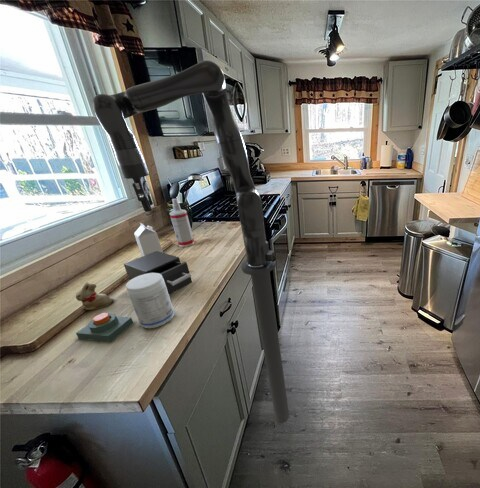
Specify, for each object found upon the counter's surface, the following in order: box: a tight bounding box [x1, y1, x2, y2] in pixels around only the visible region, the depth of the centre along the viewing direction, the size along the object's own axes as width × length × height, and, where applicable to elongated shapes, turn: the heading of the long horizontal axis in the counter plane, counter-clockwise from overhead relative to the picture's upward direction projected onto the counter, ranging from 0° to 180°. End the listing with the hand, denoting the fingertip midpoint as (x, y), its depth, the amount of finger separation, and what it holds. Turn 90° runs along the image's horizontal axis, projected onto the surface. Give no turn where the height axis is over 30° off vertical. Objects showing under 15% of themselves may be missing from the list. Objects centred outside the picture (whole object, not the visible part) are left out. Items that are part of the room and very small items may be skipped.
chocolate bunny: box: [75, 281, 114, 311], centre depth 89 cm, size 6×8×10 cm
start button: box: [92, 312, 110, 325], centre depth 77 cm, size 4×4×2 cm
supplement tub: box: [125, 273, 175, 329], centre depth 80 cm, size 10×10×15 cm
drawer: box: [149, 261, 193, 296], centre depth 97 cm, size 18×11×9 cm, turn 62°
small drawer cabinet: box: [123, 251, 181, 281], centre depth 101 cm, size 15×13×11 cm
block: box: [75, 312, 134, 343], centre depth 78 cm, size 11×8×4 cm
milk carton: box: [133, 222, 164, 257], centre depth 117 cm, size 7×7×19 cm
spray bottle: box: [169, 198, 195, 248], centre depth 135 cm, size 8×8×25 cm
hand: (149, 208), depth 95 cm, fingers open, 8 cm apart
